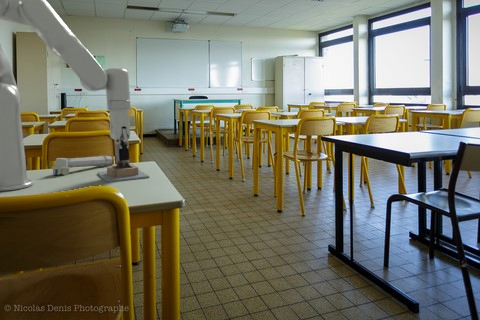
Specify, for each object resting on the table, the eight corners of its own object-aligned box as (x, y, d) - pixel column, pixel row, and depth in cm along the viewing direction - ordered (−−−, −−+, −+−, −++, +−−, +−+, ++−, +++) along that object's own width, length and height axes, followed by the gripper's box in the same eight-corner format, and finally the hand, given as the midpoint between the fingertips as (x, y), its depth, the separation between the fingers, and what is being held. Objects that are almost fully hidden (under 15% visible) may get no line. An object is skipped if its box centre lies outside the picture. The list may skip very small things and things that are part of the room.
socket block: (106, 182, 128) (106, 173, 127) (97, 173, 141) (96, 165, 141) (149, 177, 134) (148, 168, 134) (136, 169, 148) (136, 161, 148)
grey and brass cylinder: (118, 168, 135) (116, 142, 133) (115, 166, 138) (113, 140, 137) (131, 166, 137) (129, 141, 135) (127, 165, 140) (126, 139, 139)
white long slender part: (115, 155, 158) (58, 156, 137) (114, 172, 158) (57, 175, 137) (106, 154, 161) (49, 155, 139) (105, 171, 161) (48, 173, 140)
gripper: (102, 105, 139) (106, 156, 142) (113, 107, 125) (117, 164, 128) (124, 105, 143) (127, 154, 146) (136, 106, 128) (140, 161, 132)
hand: (122, 158), depth 137 cm, fingers closed on grey and brass cylinder, 4 cm apart
